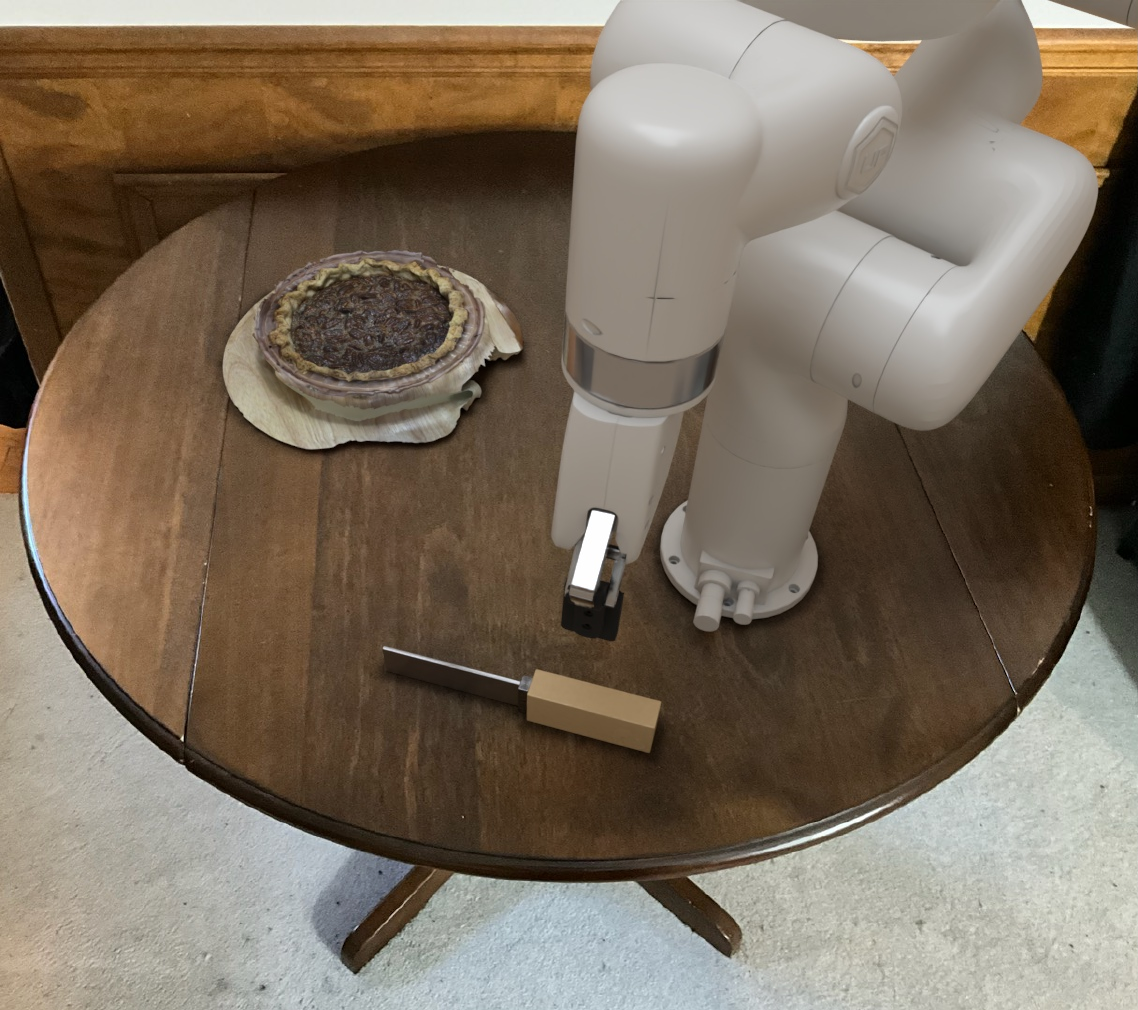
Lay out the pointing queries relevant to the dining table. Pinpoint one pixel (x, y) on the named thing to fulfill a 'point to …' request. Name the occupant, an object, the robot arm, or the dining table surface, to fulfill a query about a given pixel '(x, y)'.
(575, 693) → the knife
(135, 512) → the dining table surface
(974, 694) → the dining table surface
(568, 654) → the dining table surface
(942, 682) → the dining table surface
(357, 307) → the pie
